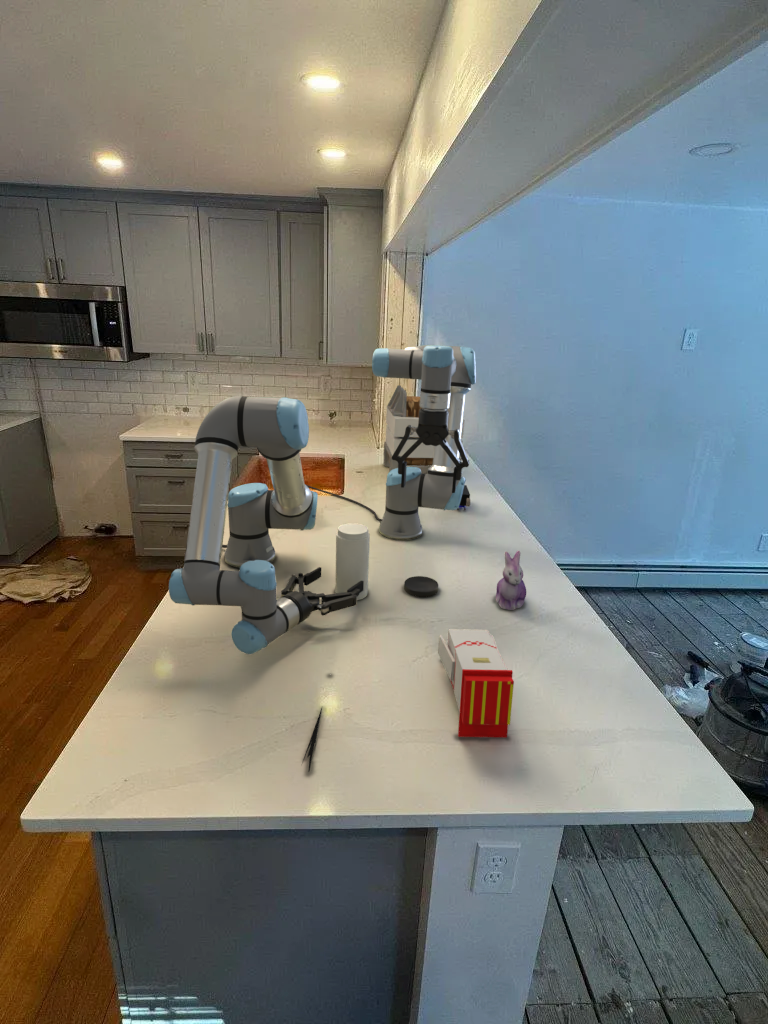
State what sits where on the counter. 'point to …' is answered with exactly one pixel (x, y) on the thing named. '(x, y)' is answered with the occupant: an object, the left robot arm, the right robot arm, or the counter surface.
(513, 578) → the figurine
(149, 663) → the counter surface
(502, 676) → the toy
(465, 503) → the figurine character
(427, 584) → the lid
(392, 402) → the light grey slatted crate
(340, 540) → the jar
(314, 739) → the feather
